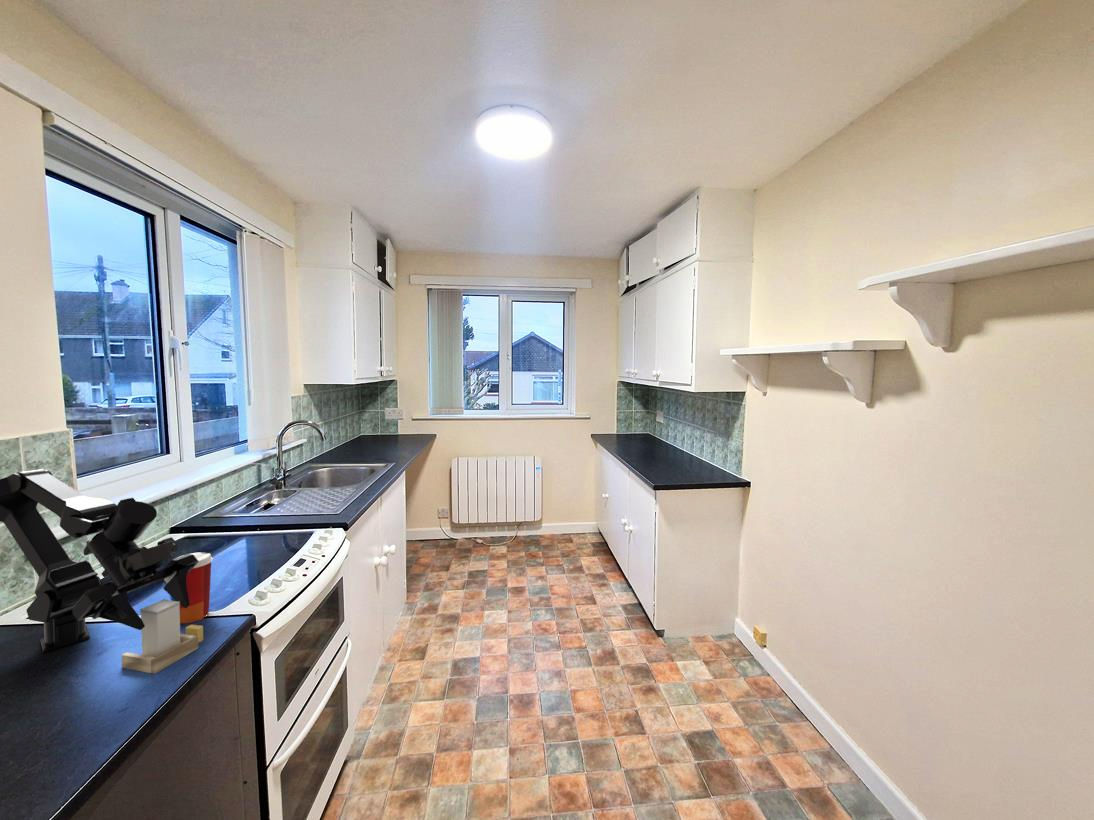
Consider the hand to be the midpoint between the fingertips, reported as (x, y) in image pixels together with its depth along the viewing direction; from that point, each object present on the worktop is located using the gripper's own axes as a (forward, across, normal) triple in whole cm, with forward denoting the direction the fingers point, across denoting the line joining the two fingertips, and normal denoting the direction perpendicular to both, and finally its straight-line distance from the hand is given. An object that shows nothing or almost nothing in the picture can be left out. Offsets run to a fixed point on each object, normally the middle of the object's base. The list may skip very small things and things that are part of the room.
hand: (166, 616), depth 84 cm
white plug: (+5, 0, +7) cm, 9 cm away
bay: (+5, 0, +7) cm, 8 cm away
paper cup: (-1, +13, +14) cm, 19 cm away
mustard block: (+5, +6, +7) cm, 10 cm away
